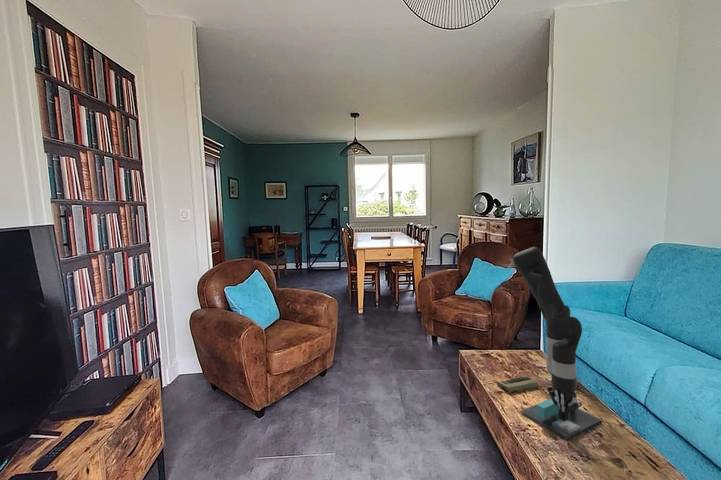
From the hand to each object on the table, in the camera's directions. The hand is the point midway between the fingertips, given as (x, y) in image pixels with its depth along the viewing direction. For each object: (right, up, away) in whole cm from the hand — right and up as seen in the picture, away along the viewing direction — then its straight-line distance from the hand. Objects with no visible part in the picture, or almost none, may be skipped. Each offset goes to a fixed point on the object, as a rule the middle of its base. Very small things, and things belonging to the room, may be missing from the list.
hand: (563, 419), depth 119 cm
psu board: (+3, -3, +7) cm, 8 cm away
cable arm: (+2, 0, +8) cm, 8 cm away
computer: (-2, -2, +32) cm, 32 cm away
